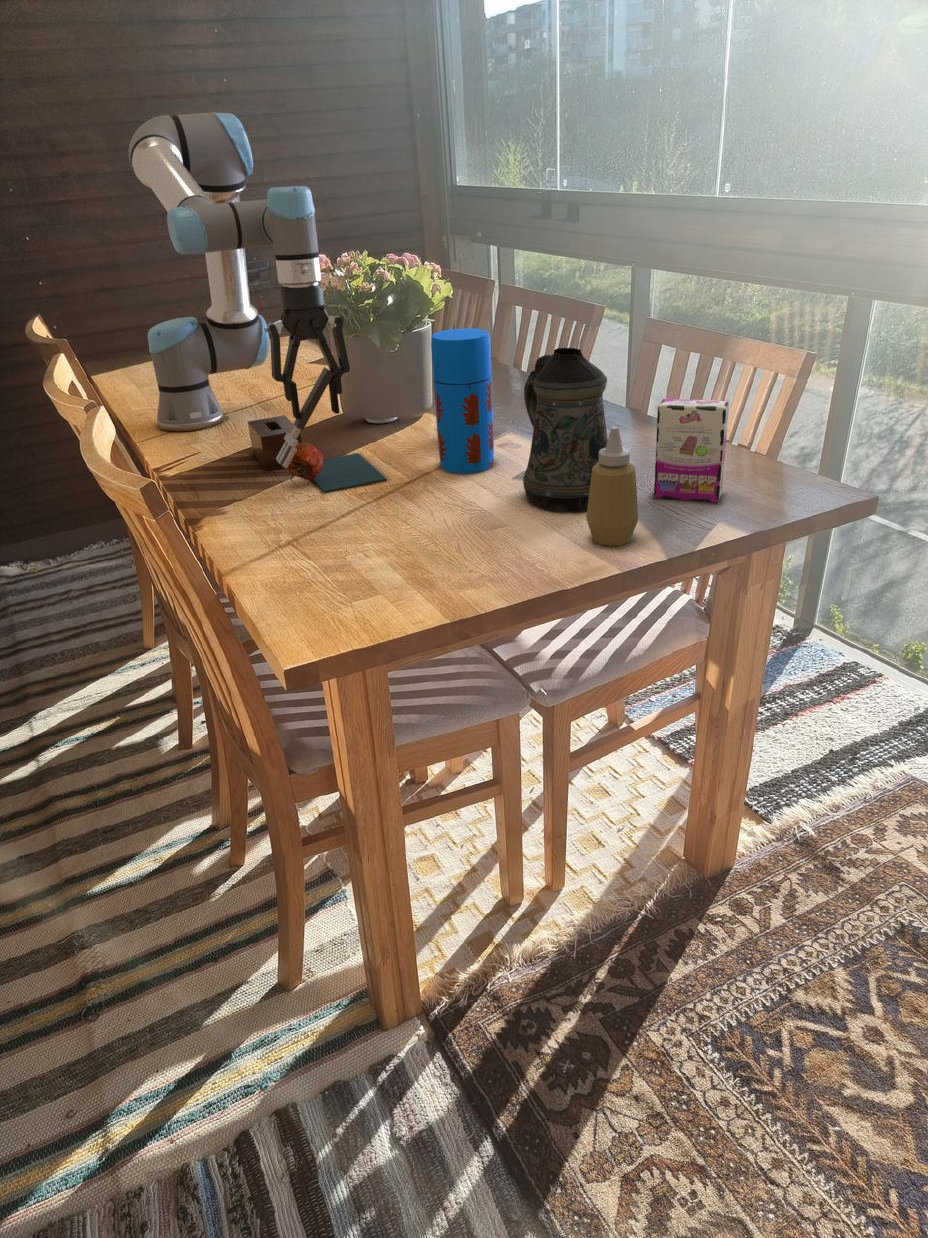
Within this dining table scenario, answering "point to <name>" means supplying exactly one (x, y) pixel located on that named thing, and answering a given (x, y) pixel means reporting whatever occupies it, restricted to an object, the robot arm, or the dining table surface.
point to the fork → (303, 418)
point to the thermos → (463, 399)
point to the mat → (347, 473)
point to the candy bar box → (690, 449)
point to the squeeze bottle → (613, 494)
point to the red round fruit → (306, 462)
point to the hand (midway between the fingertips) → (316, 414)
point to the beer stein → (564, 430)
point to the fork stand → (269, 439)
